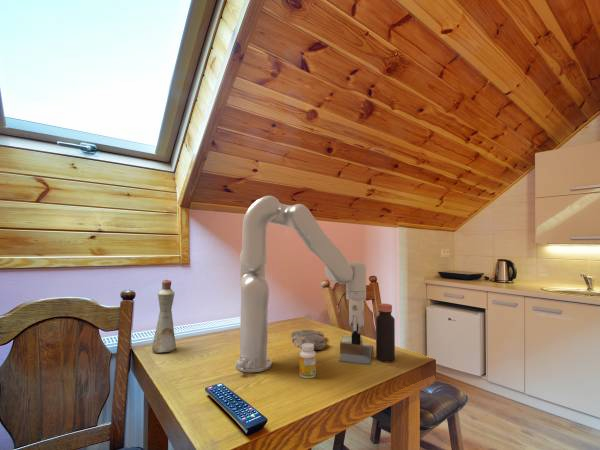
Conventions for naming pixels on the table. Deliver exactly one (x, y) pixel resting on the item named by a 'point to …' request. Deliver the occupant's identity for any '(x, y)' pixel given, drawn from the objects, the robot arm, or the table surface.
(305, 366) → the supplement bottle
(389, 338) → the vinegar
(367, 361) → the mat
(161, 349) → the bottle
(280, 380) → the table surface
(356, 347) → the slab
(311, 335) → the grey rock
